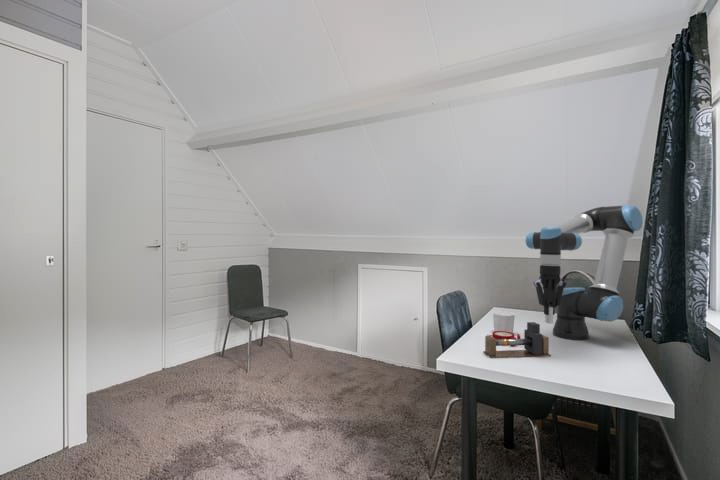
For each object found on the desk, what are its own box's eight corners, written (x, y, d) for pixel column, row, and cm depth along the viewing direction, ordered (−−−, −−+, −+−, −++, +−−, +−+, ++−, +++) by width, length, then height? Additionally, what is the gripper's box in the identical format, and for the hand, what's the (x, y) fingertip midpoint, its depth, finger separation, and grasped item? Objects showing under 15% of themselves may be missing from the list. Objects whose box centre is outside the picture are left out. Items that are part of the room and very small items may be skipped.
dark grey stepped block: (531, 348, 155) (531, 321, 155) (542, 354, 147) (542, 325, 147) (524, 348, 155) (524, 321, 154) (535, 354, 147) (535, 325, 146)
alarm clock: (494, 329, 176) (526, 328, 166) (497, 343, 175) (529, 342, 165) (484, 334, 168) (517, 332, 158) (487, 348, 167) (520, 347, 157)
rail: (540, 350, 155) (541, 333, 155) (551, 356, 148) (551, 338, 148) (483, 352, 152) (483, 335, 152) (490, 358, 145) (491, 340, 145)
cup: (489, 333, 181) (489, 313, 181) (497, 329, 189) (497, 310, 189) (510, 337, 175) (510, 316, 175) (517, 333, 182) (517, 313, 182)
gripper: (559, 264, 155) (558, 320, 155) (529, 264, 154) (528, 320, 154) (571, 265, 148) (570, 324, 148) (540, 265, 146) (539, 325, 147)
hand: (549, 322), depth 151 cm, fingers closed
